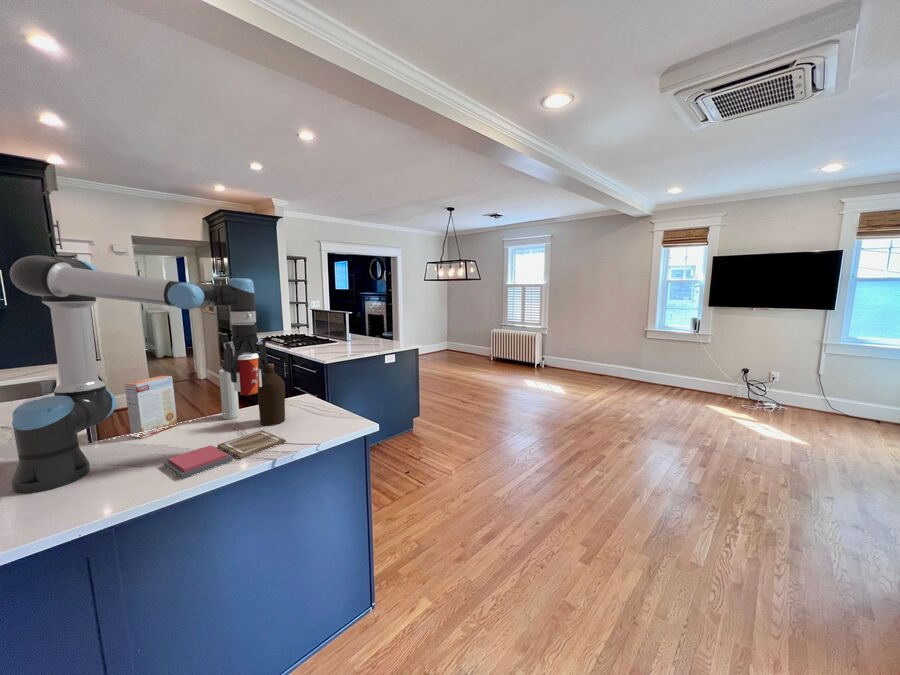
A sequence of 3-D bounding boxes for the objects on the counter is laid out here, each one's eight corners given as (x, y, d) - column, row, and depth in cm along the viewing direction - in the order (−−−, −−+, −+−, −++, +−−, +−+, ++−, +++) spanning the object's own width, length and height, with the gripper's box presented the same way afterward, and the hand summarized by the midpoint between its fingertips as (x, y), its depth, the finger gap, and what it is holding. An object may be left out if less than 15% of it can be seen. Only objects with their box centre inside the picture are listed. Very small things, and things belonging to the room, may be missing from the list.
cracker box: (166, 424, 147) (161, 374, 145) (178, 425, 146) (173, 375, 143) (129, 437, 134) (123, 383, 131) (142, 438, 133) (136, 384, 130)
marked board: (217, 447, 126) (217, 444, 126) (262, 432, 139) (262, 429, 139) (240, 459, 117) (240, 455, 117) (285, 442, 130) (285, 439, 130)
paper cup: (262, 393, 124) (260, 354, 123) (237, 397, 120) (234, 356, 118) (259, 388, 131) (257, 351, 129) (235, 391, 127) (232, 353, 125)
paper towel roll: (225, 420, 152) (221, 371, 149) (220, 417, 156) (217, 369, 153) (243, 416, 157) (240, 369, 154) (239, 413, 161) (235, 367, 158)
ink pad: (163, 466, 112) (163, 459, 112) (212, 450, 124) (212, 443, 123) (182, 479, 105) (181, 471, 104) (232, 460, 116) (232, 453, 116)
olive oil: (291, 421, 152) (288, 363, 149) (265, 428, 144) (262, 367, 140) (279, 415, 158) (276, 360, 155) (254, 422, 150) (250, 364, 147)
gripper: (217, 326, 112) (223, 397, 115) (277, 322, 128) (280, 384, 131) (207, 325, 116) (212, 393, 119) (266, 321, 133) (269, 381, 136)
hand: (248, 388), depth 125 cm, fingers closed on paper cup, 7 cm apart
